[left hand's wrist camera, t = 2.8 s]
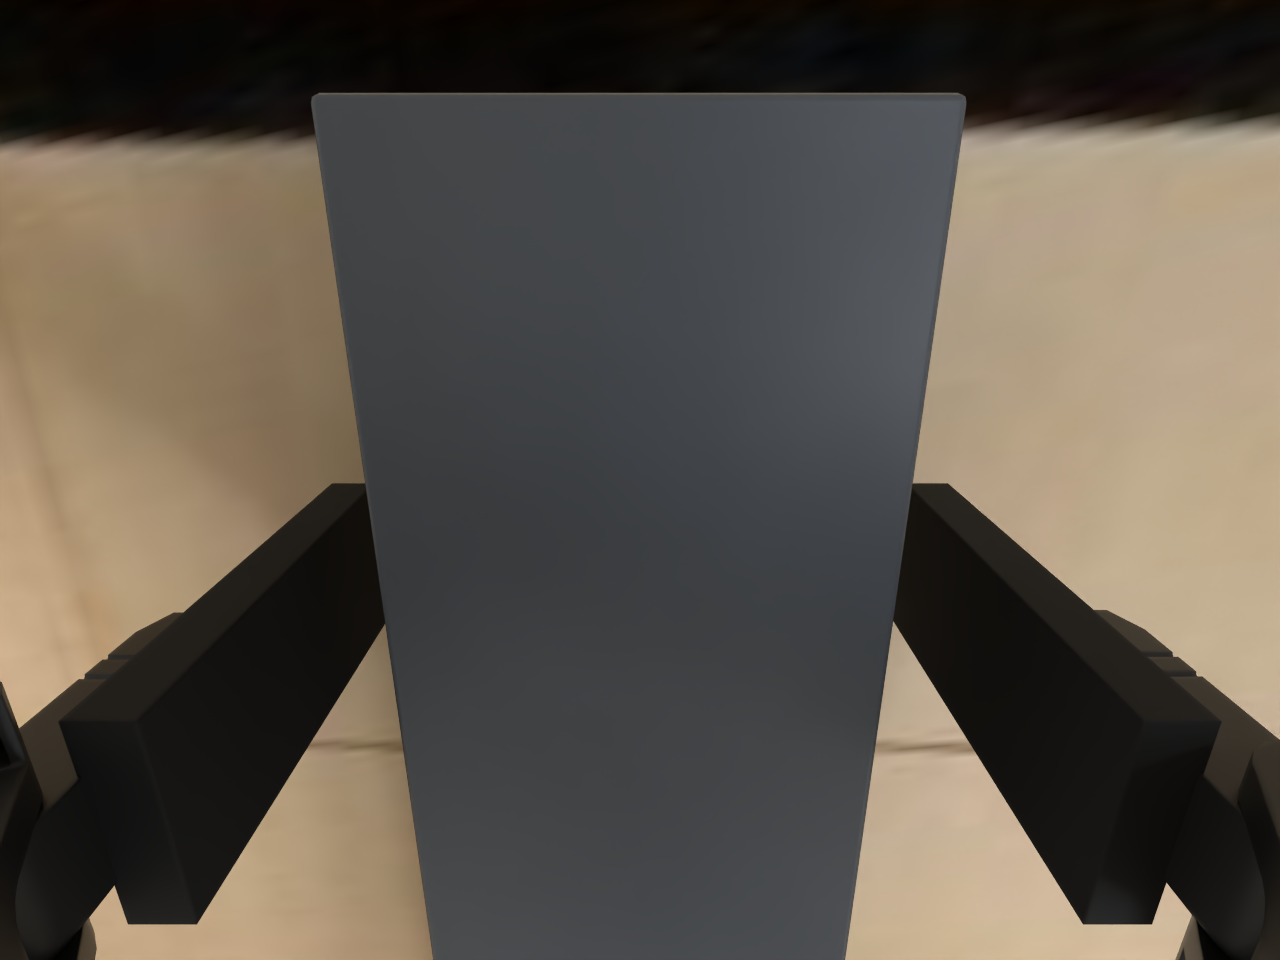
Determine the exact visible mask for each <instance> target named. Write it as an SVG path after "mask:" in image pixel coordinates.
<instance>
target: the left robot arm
mask: <svg viewBox="0 0 1280 960" xmlns="http://www.w3.org/2000/svg"><path fill="white" fill-rule="evenodd" d="M893 621H894V623H895V624H896V626H897V628H898V629H899V631H900V632H901V634H902V636H903V637H904V639H905V640H906V642H907V644H908V645H909V647H910V648H911V650H912V652H913V653H914V655H915V656H916V658H917V660H918V661H919V663H920V664H921V666H922V668H923V669H924V671H925V672H926V674H927V676H928V677H929V679H930V680H931V682H932V684H933V685H934V687H935V688H936V690H937V692H938V693H939V695H940V696H941V698H942V700H943V701H944V703H945V704H946V706H947V708H948V709H949V711H950V712H951V714H952V716H953V717H954V719H955V720H956V722H957V724H958V725H959V727H960V728H961V730H962V732H963V733H964V735H965V736H966V738H967V740H968V741H969V743H970V744H971V746H972V747H973V749H974V751H975V752H976V754H977V755H978V757H979V759H980V760H981V762H982V763H983V765H984V767H985V768H986V770H987V771H988V773H989V775H990V776H991V778H992V779H993V781H994V783H995V784H996V786H997V787H998V789H999V791H1000V792H1001V794H1002V795H1003V797H1004V799H1005V800H1006V802H1007V803H1008V805H1009V807H1010V808H1011V810H1012V811H1013V813H1014V815H1015V816H1016V818H1017V819H1018V821H1019V823H1020V824H1021V826H1022V827H1023V829H1024V831H1025V832H1026V834H1027V835H1028V837H1029V839H1030V840H1031V842H1032V843H1033V845H1034V847H1035V848H1036V850H1037V851H1038V853H1039V855H1040V856H1041V858H1042V859H1043V861H1044V863H1045V864H1046V866H1047V867H1048V869H1049V871H1050V872H1051V874H1052V875H1053V877H1054V878H1055V880H1056V882H1057V883H1058V885H1059V886H1060V888H1061V890H1062V891H1063V893H1064V894H1065V896H1066V898H1067V899H1068V901H1069V902H1070V904H1071V906H1072V907H1073V909H1074V910H1075V912H1076V914H1077V915H1078V917H1079V918H1080V920H1081V922H1082V923H1083V924H1152V923H1153V920H1154V917H1155V914H1156V911H1157V908H1158V905H1159V902H1160V899H1161V896H1162V894H1163V891H1164V888H1165V885H1166V882H1167V884H1168V885H1169V886H1170V887H1171V889H1172V890H1173V891H1174V892H1175V894H1176V895H1177V896H1178V898H1179V899H1180V900H1181V901H1182V903H1183V904H1184V905H1185V906H1186V908H1187V909H1188V910H1189V911H1190V913H1191V914H1192V917H1191V919H1190V922H1189V925H1188V928H1187V930H1186V933H1185V936H1184V938H1183V941H1182V944H1181V946H1180V949H1179V952H1178V955H1177V957H1176V960H1280V740H1279V739H1278V738H1277V737H1275V736H1274V735H1273V734H1272V733H1270V732H1269V731H1268V730H1267V729H1266V728H1264V727H1263V726H1262V725H1261V724H1259V723H1258V722H1257V721H1256V720H1255V719H1253V718H1252V717H1251V716H1250V715H1248V714H1247V713H1246V712H1245V711H1244V710H1242V709H1241V708H1240V707H1239V706H1237V705H1236V704H1235V703H1234V702H1233V701H1231V700H1230V699H1229V698H1228V697H1227V696H1225V695H1224V694H1223V693H1222V692H1220V691H1219V690H1218V689H1217V688H1216V687H1214V686H1213V685H1212V684H1211V683H1209V682H1208V681H1207V680H1206V679H1205V678H1203V677H1197V675H1196V671H1195V670H1194V669H1192V668H1191V667H1190V666H1189V665H1187V664H1186V663H1185V662H1184V661H1183V660H1181V659H1180V658H1179V657H1173V652H1172V651H1170V650H1169V649H1168V648H1167V647H1165V646H1164V645H1163V644H1162V643H1161V642H1159V641H1158V640H1157V639H1156V638H1154V637H1153V636H1152V635H1151V634H1150V633H1148V632H1147V631H1146V630H1145V629H1143V628H1141V627H1139V626H1137V625H1135V624H1133V623H1131V622H1129V621H1127V620H1125V619H1123V618H1121V617H1119V616H1117V615H1115V614H1113V613H1111V612H1109V611H1107V610H1093V609H1092V608H1091V607H1090V606H1088V605H1087V604H1086V603H1085V602H1084V601H1083V600H1081V599H1080V598H1079V597H1078V596H1077V595H1076V594H1075V593H1073V592H1072V591H1071V590H1070V589H1069V588H1068V587H1066V586H1065V585H1064V584H1063V583H1062V582H1061V581H1060V580H1058V579H1057V578H1056V577H1055V576H1054V575H1053V574H1051V573H1050V572H1049V571H1048V570H1047V569H1046V568H1045V567H1043V566H1042V565H1041V564H1040V563H1039V562H1038V561H1037V560H1035V559H1034V558H1033V557H1032V556H1031V555H1030V554H1028V553H1027V552H1026V551H1025V550H1024V549H1023V548H1022V547H1020V546H1019V545H1018V544H1017V543H1016V542H1015V541H1013V540H1012V539H1011V538H1010V537H1009V536H1008V535H1007V534H1005V533H1004V532H1003V531H1002V530H1001V529H1000V528H999V527H997V526H996V525H995V524H994V523H993V522H992V521H990V520H989V519H988V518H987V517H986V516H985V515H984V514H982V513H981V512H980V511H979V510H978V509H977V508H975V507H974V506H973V505H972V504H971V503H970V502H969V501H967V500H966V499H965V498H964V497H963V496H962V495H960V494H959V493H958V492H957V491H956V490H955V489H954V488H952V487H951V486H950V485H949V484H912V490H911V497H910V504H909V511H908V518H907V525H906V532H905V540H904V547H903V554H902V561H901V568H900V575H899V582H898V589H897V596H896V603H895V610H894V617H893ZM384 624H385V617H384V610H383V603H382V596H381V589H380V582H379V575H378V568H377V561H376V554H375V547H374V540H373V533H372V526H371V519H370V512H369V505H368V498H367V491H366V484H331V485H330V486H329V487H328V488H326V489H325V490H324V491H323V492H322V493H321V494H320V495H318V496H317V497H316V498H315V499H314V500H313V501H311V502H310V503H309V504H308V505H307V506H306V507H305V508H303V509H302V510H301V511H300V512H299V513H298V514H296V515H295V516H294V517H293V518H292V519H291V520H290V521H288V522H287V523H286V524H285V525H284V526H283V527H282V528H280V529H279V530H278V531H277V532H276V533H275V534H273V535H272V536H271V537H270V538H269V539H268V540H267V541H265V542H264V543H263V544H262V545H261V546H260V547H258V548H257V549H256V550H255V551H254V552H253V553H252V554H250V555H249V556H248V557H247V558H246V559H245V560H243V561H242V562H241V563H240V564H239V565H238V566H237V567H235V568H234V569H233V570H232V571H231V572H230V573H229V574H227V575H226V576H225V577H224V578H223V579H222V580H220V581H219V582H218V583H217V584H216V585H215V586H214V587H212V588H211V589H210V590H209V591H208V592H207V593H205V594H204V595H203V596H202V597H201V598H200V599H199V600H197V601H196V602H195V603H194V604H193V605H192V606H190V607H189V608H188V609H187V610H186V611H185V612H184V613H172V614H170V615H168V616H166V617H164V618H162V619H161V620H159V621H157V622H155V623H153V624H151V625H149V626H147V627H145V628H143V629H141V630H139V631H137V632H136V633H134V634H133V635H132V636H131V637H130V638H128V639H127V640H126V641H125V642H123V643H122V644H121V645H120V646H119V647H117V648H116V649H115V650H114V651H113V652H111V653H110V654H109V655H108V659H107V660H102V661H100V662H99V663H98V664H97V665H96V666H94V667H93V668H92V669H91V670H90V671H88V672H87V673H86V674H85V678H84V679H79V680H77V681H76V682H75V683H74V684H73V685H71V686H70V687H69V688H68V689H66V690H65V691H64V692H63V693H62V694H60V695H59V696H58V697H57V698H56V699H54V700H53V701H52V702H51V703H50V704H48V705H47V706H46V707H45V708H43V709H42V710H41V711H40V712H39V713H37V714H36V715H35V716H34V717H33V718H31V719H30V720H29V721H28V722H26V723H25V724H24V725H23V726H22V727H20V728H18V725H17V722H16V719H15V717H14V714H13V711H12V709H11V706H10V703H9V700H8V698H7V695H6V692H5V690H4V687H3V684H2V682H0V960H95V955H96V949H97V948H96V941H95V934H94V930H93V928H92V925H91V922H90V919H89V917H90V916H91V914H92V913H93V912H94V911H95V909H96V908H97V907H98V906H99V904H100V903H101V902H102V900H103V899H104V898H105V897H106V895H107V894H108V893H109V892H110V890H111V889H112V888H113V886H114V885H115V888H116V891H117V894H118V896H119V899H120V902H121V905H122V908H123V911H124V914H125V917H126V920H127V923H128V924H197V923H198V922H199V920H200V918H201V917H202V915H203V914H204V912H205V910H206V909H207V907H208V906H209V904H210V902H211V901H212V899H213V898H214V896H215V894H216V893H217V891H218V890H219V888H220V887H221V885H222V883H223V882H224V880H225V879H226V877H227V875H228V874H229V872H230V871H231V869H232V867H233V866H234V864H235V863H236V861H237V859H238V858H239V856H240V855H241V853H242V851H243V850H244V848H245V847H246V845H247V843H248V842H249V840H250V839H251V837H252V835H253V834H254V832H255V831H256V829H257V827H258V826H259V824H260V823H261V821H262V819H263V818H264V816H265V815H266V813H267V811H268V810H269V808H270V807H271V805H272V803H273V802H274V800H275V799H276V797H277V795H278V794H279V792H280V791H281V789H282V787H283V786H284V784H285V783H286V781H287V779H288V778H289V776H290V775H291V773H292V771H293V770H294V768H295V767H296V765H297V763H298V762H299V760H300V759H301V757H302V755H303V754H304V752H305V751H306V749H307V748H308V746H309V744H310V743H311V741H312V740H313V738H314V736H315V735H316V733H317V732H318V730H319V728H320V727H321V725H322V724H323V722H324V720H325V719H326V717H327V716H328V714H329V712H330V711H331V709H332V708H333V706H334V704H335V703H336V701H337V700H338V698H339V696H340V695H341V693H342V692H343V690H344V688H345V687H346V685H347V684H348V682H349V680H350V679H351V677H352V676H353V674H354V672H355V671H356V669H357V668H358V666H359V664H360V663H361V661H362V660H363V658H364V656H365V655H366V653H367V652H368V650H369V648H370V647H371V645H372V644H373V642H374V640H375V639H376V637H377V636H378V634H379V632H380V631H381V629H382V628H383V626H384Z"/></svg>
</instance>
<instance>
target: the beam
mask: <svg viewBox="0 0 1280 960" xmlns="http://www.w3.org/2000/svg"><path fill="white" fill-rule="evenodd" d="M311 106H312V113H313V120H314V127H315V134H316V141H317V148H318V155H319V162H320V169H321V176H322V183H323V190H324V197H325V204H326V211H327V218H328V225H329V232H330V239H331V246H332V253H333V260H334V267H335V274H336V281H337V288H338V295H339V302H340V309H341V316H342V323H343V330H344V337H345V344H346V351H347V358H348V365H349V372H350V379H351V386H352V393H353V400H354V407H355V414H356V421H357V428H358V435H359V442H360V449H361V456H362V463H363V470H364V477H365V484H366V491H367V498H368V505H369V512H370V519H371V526H372V533H373V540H374V547H375V554H376V561H377V568H378V575H379V582H380V589H381V596H382V603H383V610H384V617H385V624H386V631H387V638H388V645H389V652H390V659H391V666H392V673H393V680H394V687H395V694H396V701H397V708H398V715H399V722H400V729H401V736H402V743H403V750H404V757H405V764H406V771H407V778H408V785H409V792H410V799H411V806H412V813H413V820H414V827H415V834H416V841H417V848H418V855H419V862H420V869H421V876H422V883H423V890H424V897H425V904H426V911H427V918H428V925H429V932H430V939H431V946H432V953H433V960H845V956H846V949H847V942H848V935H849V928H850V921H851V914H852V907H853V899H854V892H855V885H856V878H857V871H858V864H859V857H860V850H861V843H862V836H863V829H864V822H865V815H866V808H867V801H868V794H869V787H870V780H871V772H872V765H873V758H874V751H875V744H876V737H877V730H878V723H879V716H880V709H881V702H882V695H883V688H884V681H885V674H886V667H887V660H888V652H889V645H890V638H891V631H892V624H893V617H894V610H895V603H896V596H897V589H898V582H899V575H900V568H901V561H902V554H903V547H904V540H905V532H906V525H907V518H908V511H909V504H910V497H911V490H912V483H913V476H914V469H915V462H916V455H917V448H918V441H919V434H920V427H921V420H922V413H923V405H924V398H925V391H926V384H927V377H928V370H929V363H930V356H931V349H932V342H933V335H934V328H935V321H936V314H937V307H938V300H939V293H940V285H941V278H942V271H943V264H944V257H945V250H946V243H947V236H948V229H949V222H950V215H951V208H952V201H953V194H954V187H955V180H956V173H957V165H958V158H959V151H960V144H961V137H962V130H963V123H964V116H965V109H966V98H965V96H963V95H961V94H959V93H319V94H317V95H315V96H313V97H312V101H311Z"/></svg>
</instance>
